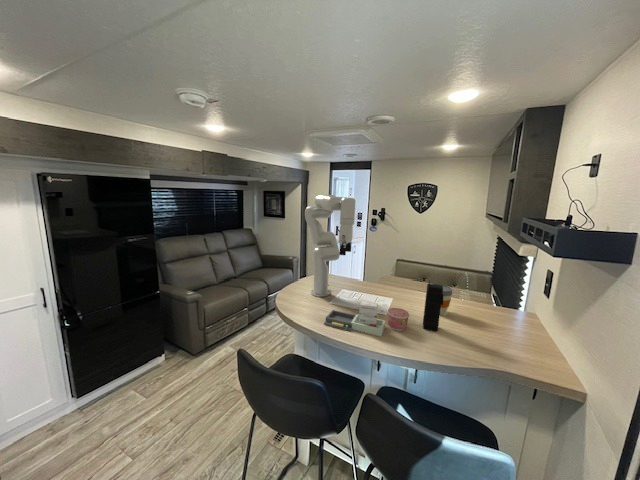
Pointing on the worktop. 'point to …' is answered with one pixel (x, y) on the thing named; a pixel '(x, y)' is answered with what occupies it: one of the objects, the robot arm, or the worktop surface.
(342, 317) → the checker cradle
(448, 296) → the reusable coffee cup
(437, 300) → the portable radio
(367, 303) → the ink box
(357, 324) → the trough
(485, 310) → the worktop surface
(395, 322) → the container
